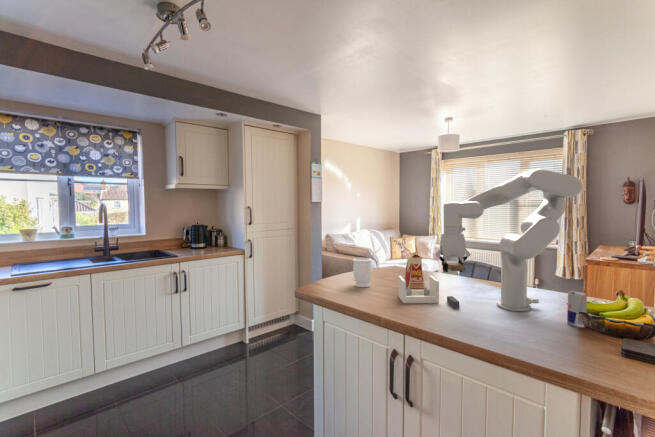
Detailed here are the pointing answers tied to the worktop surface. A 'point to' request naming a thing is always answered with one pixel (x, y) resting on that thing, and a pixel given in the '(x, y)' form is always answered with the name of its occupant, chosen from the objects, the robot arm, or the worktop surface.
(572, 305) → the energy drink
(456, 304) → the rubber block
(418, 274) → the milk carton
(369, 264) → the jar
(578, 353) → the worktop surface
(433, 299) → the peg frame
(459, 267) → the board
